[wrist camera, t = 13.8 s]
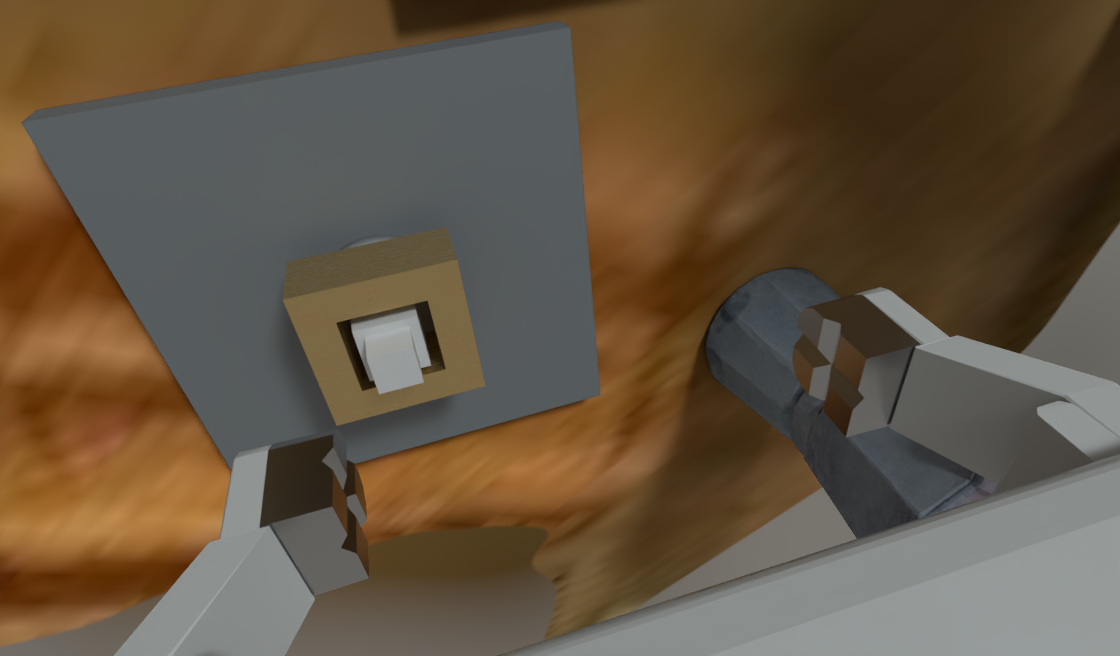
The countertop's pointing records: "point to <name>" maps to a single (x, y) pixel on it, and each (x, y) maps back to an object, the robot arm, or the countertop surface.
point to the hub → (346, 226)
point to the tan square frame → (374, 286)
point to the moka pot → (837, 461)
